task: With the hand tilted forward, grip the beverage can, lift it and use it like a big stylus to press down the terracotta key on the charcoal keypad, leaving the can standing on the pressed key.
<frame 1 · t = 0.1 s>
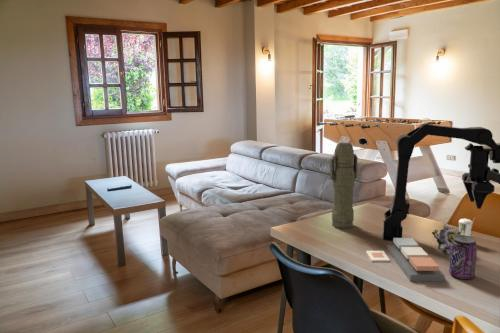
hand: (475, 205, 150), 15 cm above the table, tool pointing down, fingers open, 9 cm apart
prompt card: (377, 256, 142), on the table
passion flower: (447, 252, 146), on the table
terracotta key: (423, 263, 126), point 4 cm above the table, slide at 0.0 cm
beverage can: (461, 276, 127), on the table
keypad board: (413, 264, 135), on the table
grey-blue key: (405, 243, 143), point 4 cm above the table, slide at 0.0 cm
thermos: (342, 225, 175), on the table
off-white key: (414, 252, 135), point 4 cm above the table, slide at 0.0 cm
milkshake: (465, 243, 153), on the table
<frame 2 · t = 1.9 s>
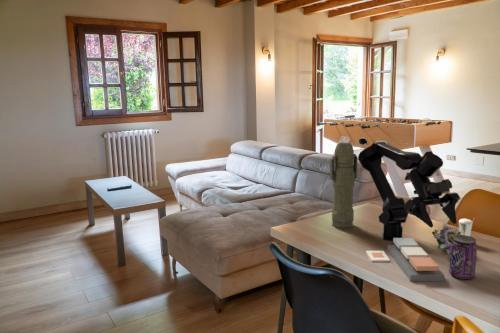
hand: (443, 225, 133), 13 cm above the table, tool tilted 45°, fingers open, 9 cm apart
nothing on the table moved.
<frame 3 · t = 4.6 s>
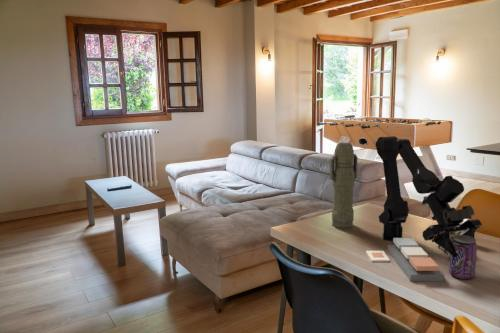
hand: (465, 254, 125), 7 cm above the table, tool tilted 45°, fingers closed on beverage can, 7 cm apart
beverage can: (461, 275, 127), on the table, touching gripper
everything else where it was.
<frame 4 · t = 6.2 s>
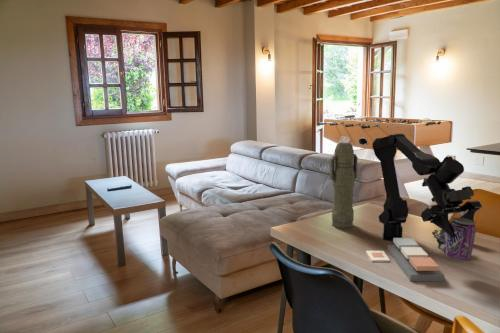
hand: (464, 235, 124), 13 cm above the table, tool tilted 45°, fingers closed on beverage can, 7 cm apart
beverage can: (457, 258, 126), point 6 cm above the table, touching gripper
everything else where it was.
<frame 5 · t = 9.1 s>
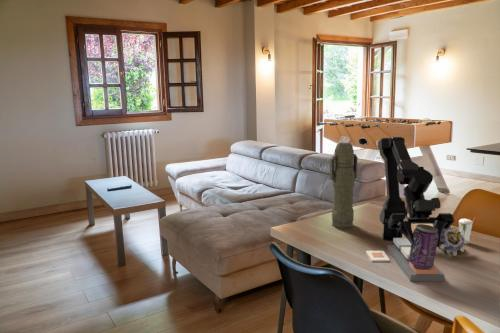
hand: (426, 246, 124), 10 cm above the table, tool tilted 45°, fingers closed on beverage can, 6 cm apart
terracotta key: (423, 267, 127), point 3 cm above the table, slide at -1.2 cm, touching beverage can
beverage can: (420, 265, 126), point 4 cm above the table, touching gripper, terracotta key
everything else where it was.
when the fingers open (10 cm above the table, at t = 9.5 s): beverage can stays where it is, resting on terracotta key.
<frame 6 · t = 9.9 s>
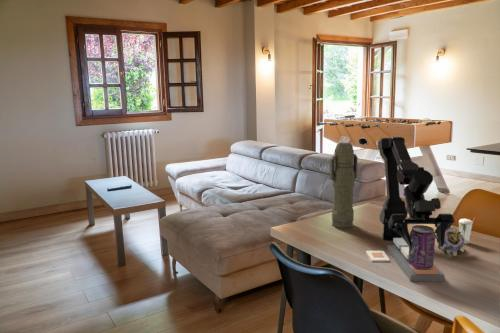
hand: (426, 246, 124), 10 cm above the table, tool tilted 45°, fingers open, 9 cm apart
beverage can: (420, 266, 126), point 3 cm above the table, touching terracotta key
everything else where it was.
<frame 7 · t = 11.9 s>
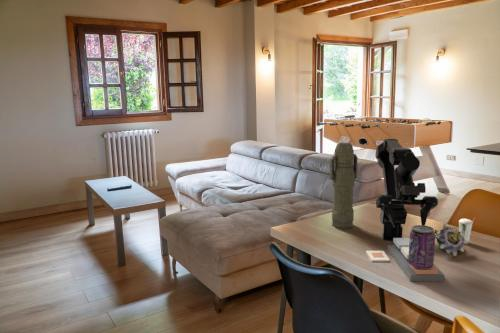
hand: (408, 227, 134), 13 cm above the table, tool tilted 35°, fingers open, 9 cm apart
nothing on the table moved.
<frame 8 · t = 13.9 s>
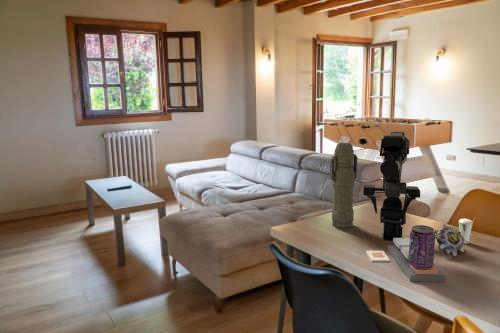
hand: (389, 214, 146), 13 cm above the table, tool pointing down, fingers open, 9 cm apart
nothing on the table moved.
at the end: terracotta key slide at -1.2 cm; beverage can 1.0 cm from the terracotta key (horizontally); beverage can tilted 0° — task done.
